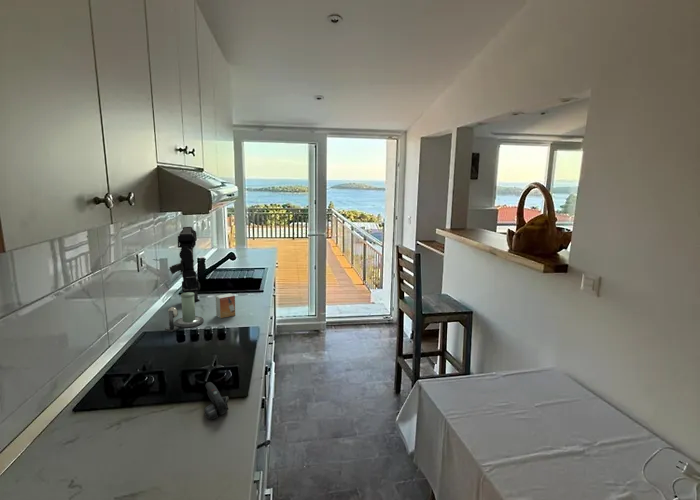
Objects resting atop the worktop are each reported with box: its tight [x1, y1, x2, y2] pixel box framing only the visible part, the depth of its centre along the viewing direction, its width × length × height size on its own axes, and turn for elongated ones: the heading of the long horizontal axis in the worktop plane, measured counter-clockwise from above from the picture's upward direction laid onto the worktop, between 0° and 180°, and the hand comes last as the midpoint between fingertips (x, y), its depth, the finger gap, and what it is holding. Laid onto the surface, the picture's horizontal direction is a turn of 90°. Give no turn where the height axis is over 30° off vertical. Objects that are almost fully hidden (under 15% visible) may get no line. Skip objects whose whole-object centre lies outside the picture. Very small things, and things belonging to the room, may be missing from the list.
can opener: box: [203, 381, 230, 420], centre depth 116 cm, size 18×7×6 cm, turn 29°
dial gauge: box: [164, 306, 180, 333], centre depth 172 cm, size 4×5×10 cm
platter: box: [174, 315, 205, 329], centre depth 182 cm, size 13×13×1 cm
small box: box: [215, 292, 236, 319], centre depth 192 cm, size 8×6×10 cm
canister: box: [180, 292, 196, 322], centre depth 181 cm, size 6×6×13 cm
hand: (188, 288), depth 195 cm, fingers open, 9 cm apart
